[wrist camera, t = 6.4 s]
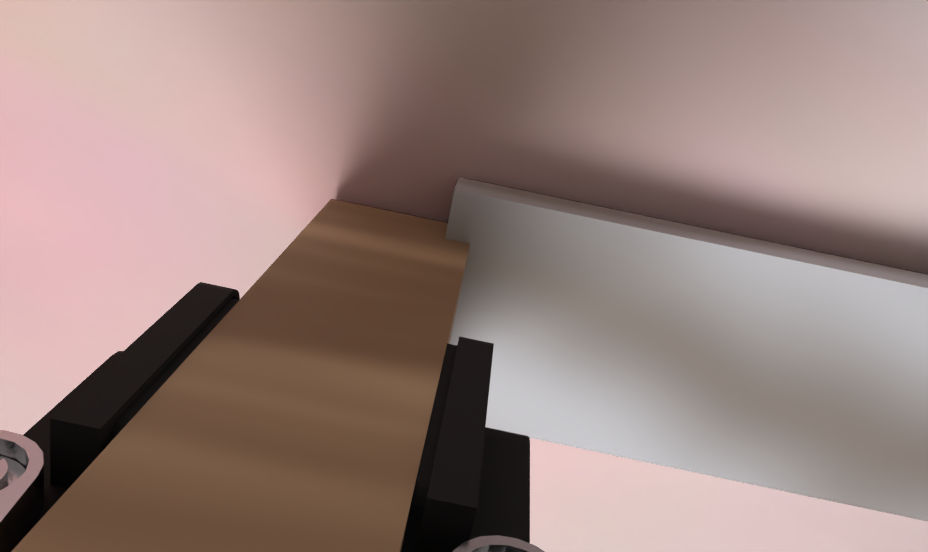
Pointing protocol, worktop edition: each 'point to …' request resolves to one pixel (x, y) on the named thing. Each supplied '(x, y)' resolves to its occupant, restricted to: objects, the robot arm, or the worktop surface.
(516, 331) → the blade tool
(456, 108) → the worktop surface
